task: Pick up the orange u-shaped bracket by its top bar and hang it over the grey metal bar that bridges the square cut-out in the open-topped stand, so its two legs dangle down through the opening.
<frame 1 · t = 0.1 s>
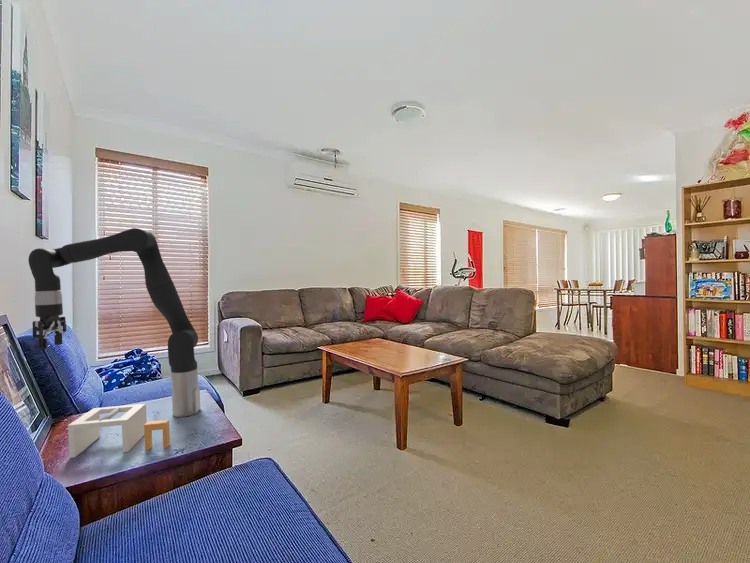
hand: (51, 346, 134), 29 cm above the table, fingers open, 8 cm apart
open-topped stand: (111, 443, 118), on the table
orange u-shaped bracket: (157, 446, 116), on the table
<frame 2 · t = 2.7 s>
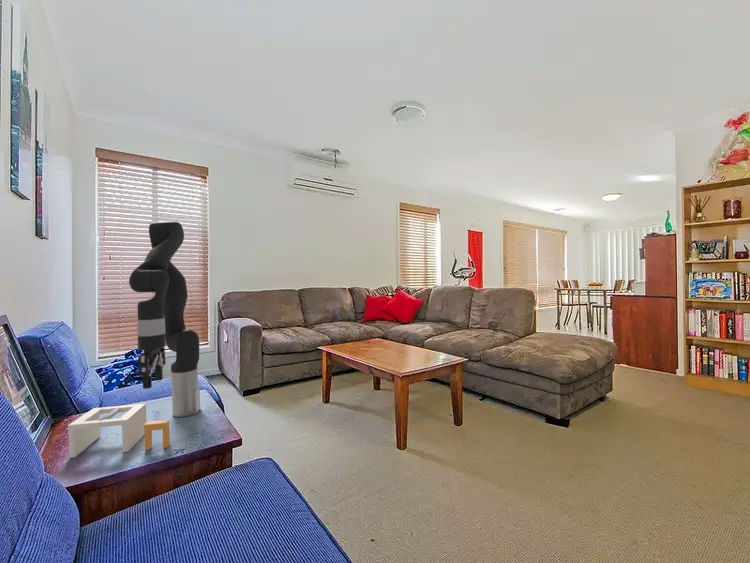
hand: (153, 384, 115), 20 cm above the table, fingers open, 8 cm apart
nothing on the table moved.
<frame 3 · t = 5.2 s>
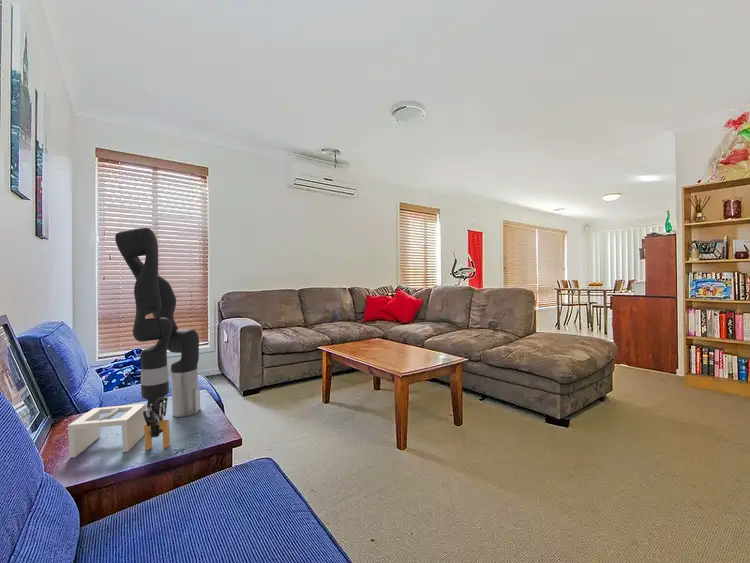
hand: (157, 434, 116), 4 cm above the table, fingers closed on orange u-shaped bracket, 2 cm apart
orange u-shaped bracket: (157, 446, 116), on the table, touching gripper
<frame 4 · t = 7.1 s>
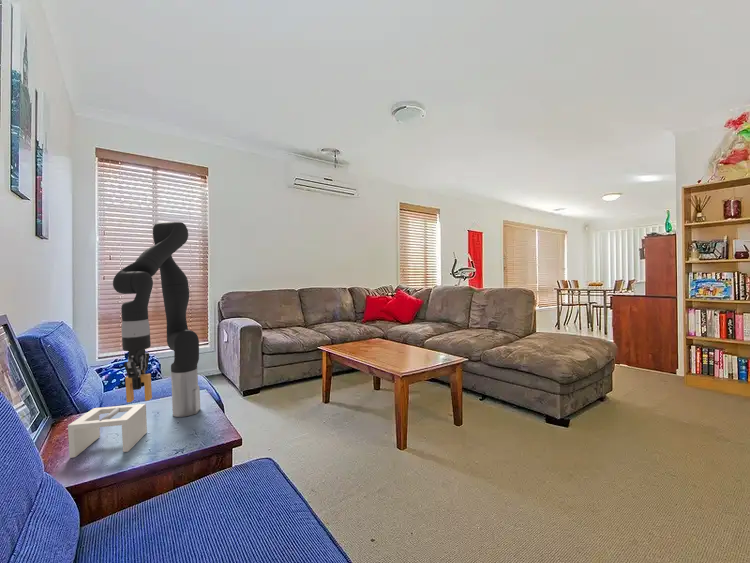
hand: (138, 387, 116), 19 cm above the table, fingers closed on orange u-shaped bracket, 2 cm apart
orange u-shaped bracket: (139, 400, 116), point 15 cm above the table, touching gripper
when the fingers open (11 cm above the table, at t = 9.5 s): orange u-shaped bracket drops 3 cm, resting on open-topped stand.
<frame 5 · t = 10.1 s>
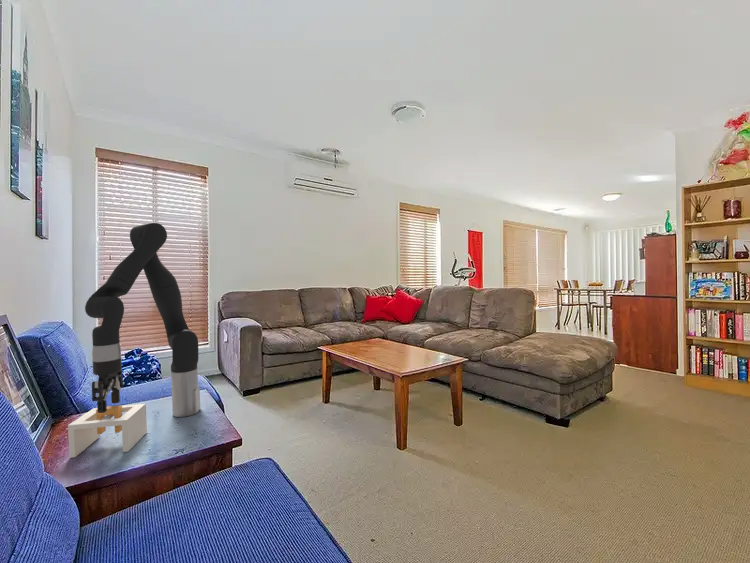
hand: (109, 407, 118), 12 cm above the table, fingers open, 8 cm apart
orange u-shaped bracket: (110, 431, 118), point 4 cm above the table, touching open-topped stand
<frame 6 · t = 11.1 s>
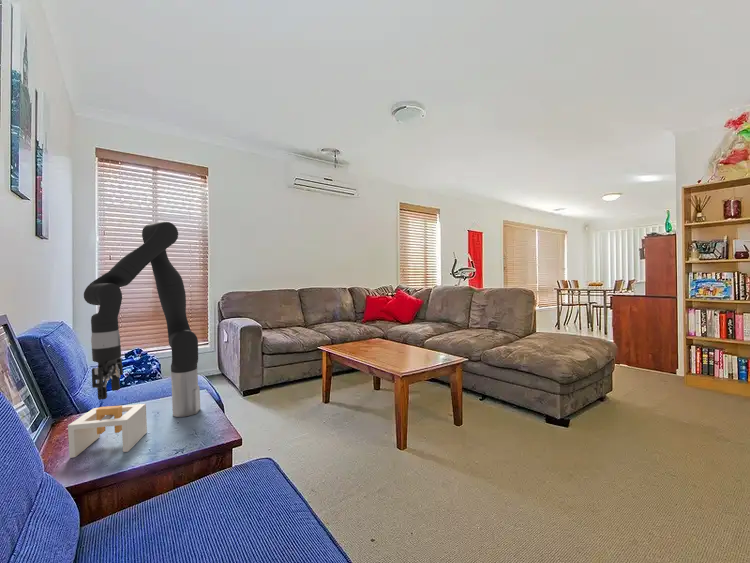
hand: (109, 394, 118), 16 cm above the table, fingers open, 8 cm apart
nothing on the table moved.
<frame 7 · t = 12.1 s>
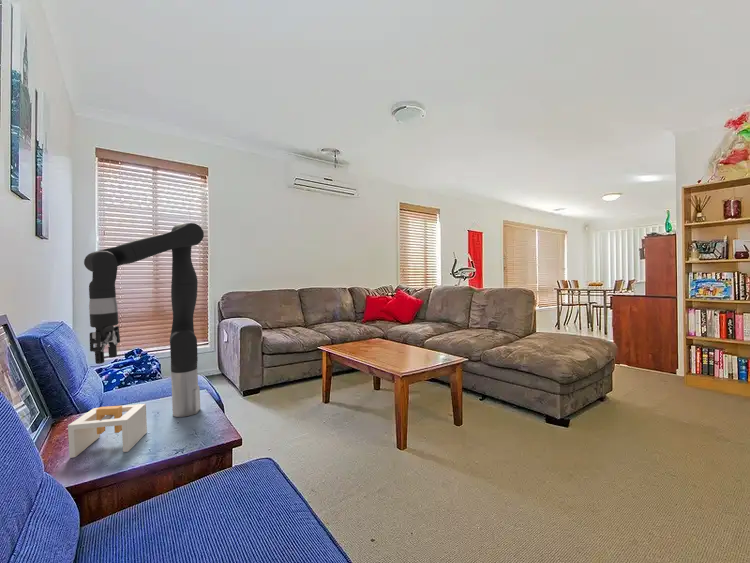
hand: (106, 360, 121), 27 cm above the table, fingers open, 8 cm apart
nothing on the table moved.
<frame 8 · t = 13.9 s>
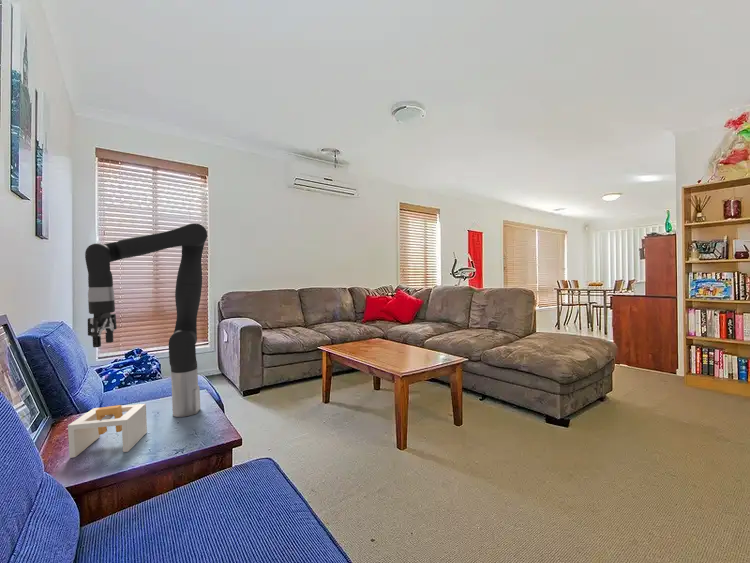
hand: (103, 344, 131), 30 cm above the table, fingers open, 8 cm apart
nothing on the table moved.
at the end: orange u-shaped bracket 0.2 cm off-centre on the open-topped stand, point 4.0 cm above the open-topped stand's base; orange u-shaped bracket touching open-topped stand; orange u-shaped bracket tilted 1° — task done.
